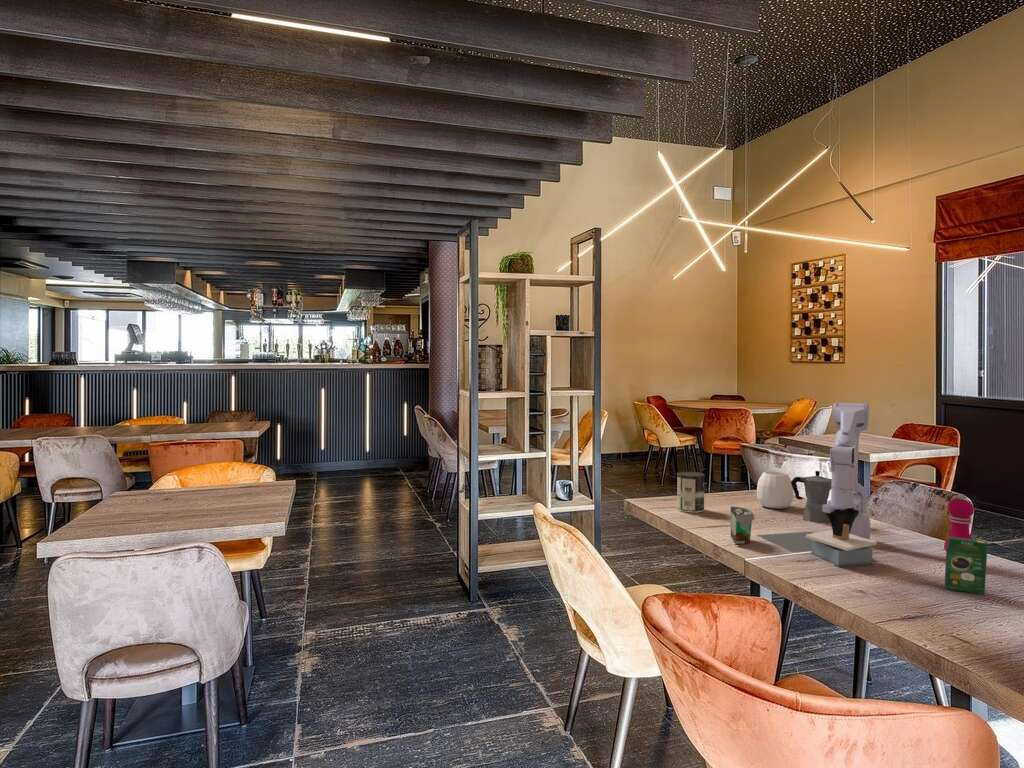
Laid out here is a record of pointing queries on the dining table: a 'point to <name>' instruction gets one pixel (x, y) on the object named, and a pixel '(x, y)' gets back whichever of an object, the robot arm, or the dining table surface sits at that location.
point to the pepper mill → (960, 518)
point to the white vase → (775, 490)
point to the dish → (842, 555)
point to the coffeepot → (814, 496)
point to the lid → (841, 539)
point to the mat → (790, 541)
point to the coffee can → (690, 492)
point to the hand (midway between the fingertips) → (841, 534)
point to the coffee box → (966, 565)
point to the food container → (741, 525)
